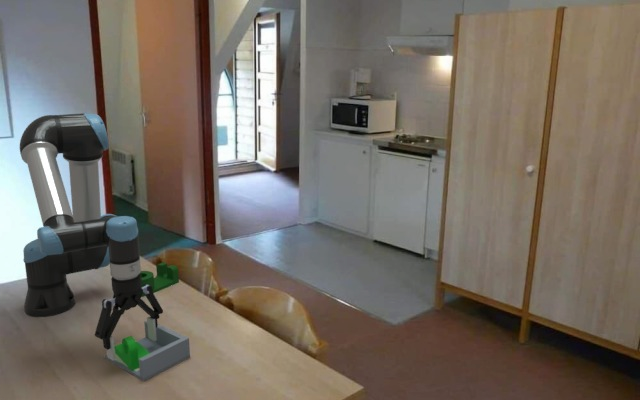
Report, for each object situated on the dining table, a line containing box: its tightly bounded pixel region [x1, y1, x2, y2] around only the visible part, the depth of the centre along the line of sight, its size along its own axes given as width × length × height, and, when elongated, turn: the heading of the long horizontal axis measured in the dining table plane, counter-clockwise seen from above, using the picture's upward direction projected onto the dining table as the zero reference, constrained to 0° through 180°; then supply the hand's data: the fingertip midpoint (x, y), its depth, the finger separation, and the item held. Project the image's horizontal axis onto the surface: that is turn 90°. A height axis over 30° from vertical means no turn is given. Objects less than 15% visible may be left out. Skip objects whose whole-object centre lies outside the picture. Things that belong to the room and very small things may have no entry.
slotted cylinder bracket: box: [140, 262, 180, 298], centre depth 197 cm, size 18×9×6 cm, turn 147°
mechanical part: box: [114, 335, 150, 371], centre depth 148 cm, size 12×6×8 cm, turn 40°
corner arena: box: [103, 320, 191, 382], centre depth 150 cm, size 18×15×6 cm
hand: (132, 348), depth 149 cm, fingers open, 12 cm apart
